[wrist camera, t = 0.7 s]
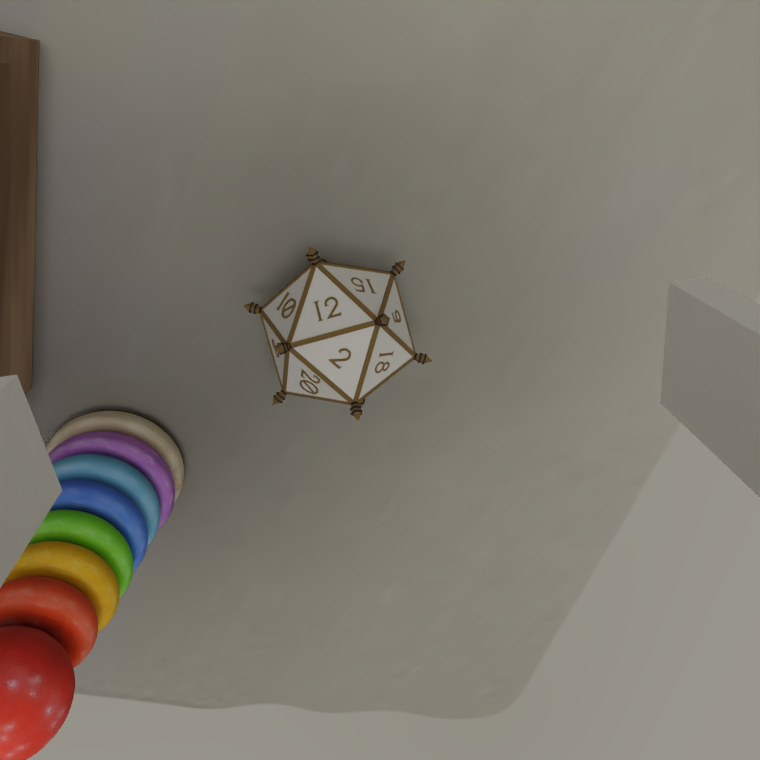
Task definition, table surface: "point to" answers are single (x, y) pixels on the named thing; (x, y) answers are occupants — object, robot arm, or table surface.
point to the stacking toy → (79, 565)
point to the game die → (337, 332)
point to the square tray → (17, 202)
